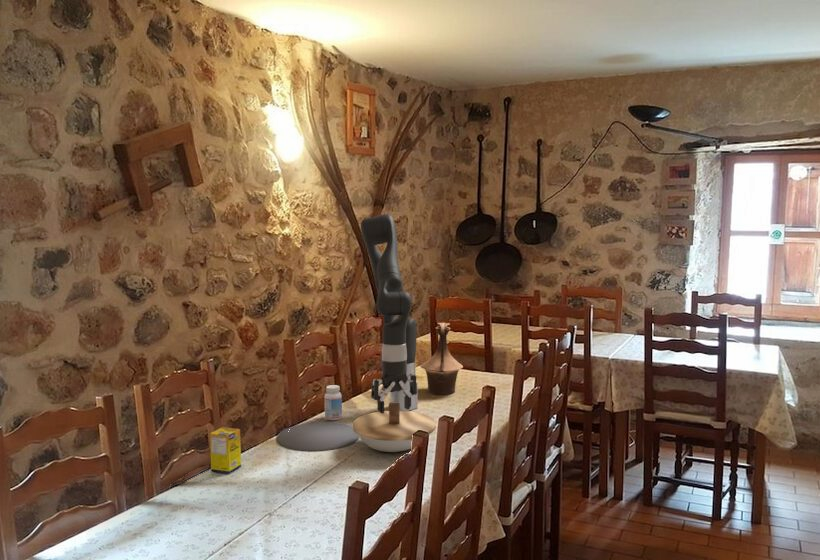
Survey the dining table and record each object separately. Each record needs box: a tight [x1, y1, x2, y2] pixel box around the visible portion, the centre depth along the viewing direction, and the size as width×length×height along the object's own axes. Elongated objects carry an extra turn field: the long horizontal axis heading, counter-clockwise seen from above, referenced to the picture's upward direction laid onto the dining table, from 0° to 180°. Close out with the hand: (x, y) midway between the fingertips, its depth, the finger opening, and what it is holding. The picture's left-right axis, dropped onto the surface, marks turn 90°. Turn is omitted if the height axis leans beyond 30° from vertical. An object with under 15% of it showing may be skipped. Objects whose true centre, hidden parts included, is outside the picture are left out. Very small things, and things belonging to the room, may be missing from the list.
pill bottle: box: [323, 384, 343, 421], centre depth 229 cm, size 6×6×11 cm
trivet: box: [276, 421, 360, 452], centre depth 210 cm, size 26×26×1 cm
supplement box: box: [209, 426, 242, 475], centre depth 183 cm, size 6×6×11 cm
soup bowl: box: [353, 430, 412, 453], centre depth 200 cm, size 24×24×7 cm
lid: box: [352, 401, 437, 441], centre depth 199 cm, size 25×25×7 cm
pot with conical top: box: [420, 322, 464, 395], centre depth 263 cm, size 18×17×28 cm
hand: (394, 410), depth 199 cm, fingers open, 8 cm apart
